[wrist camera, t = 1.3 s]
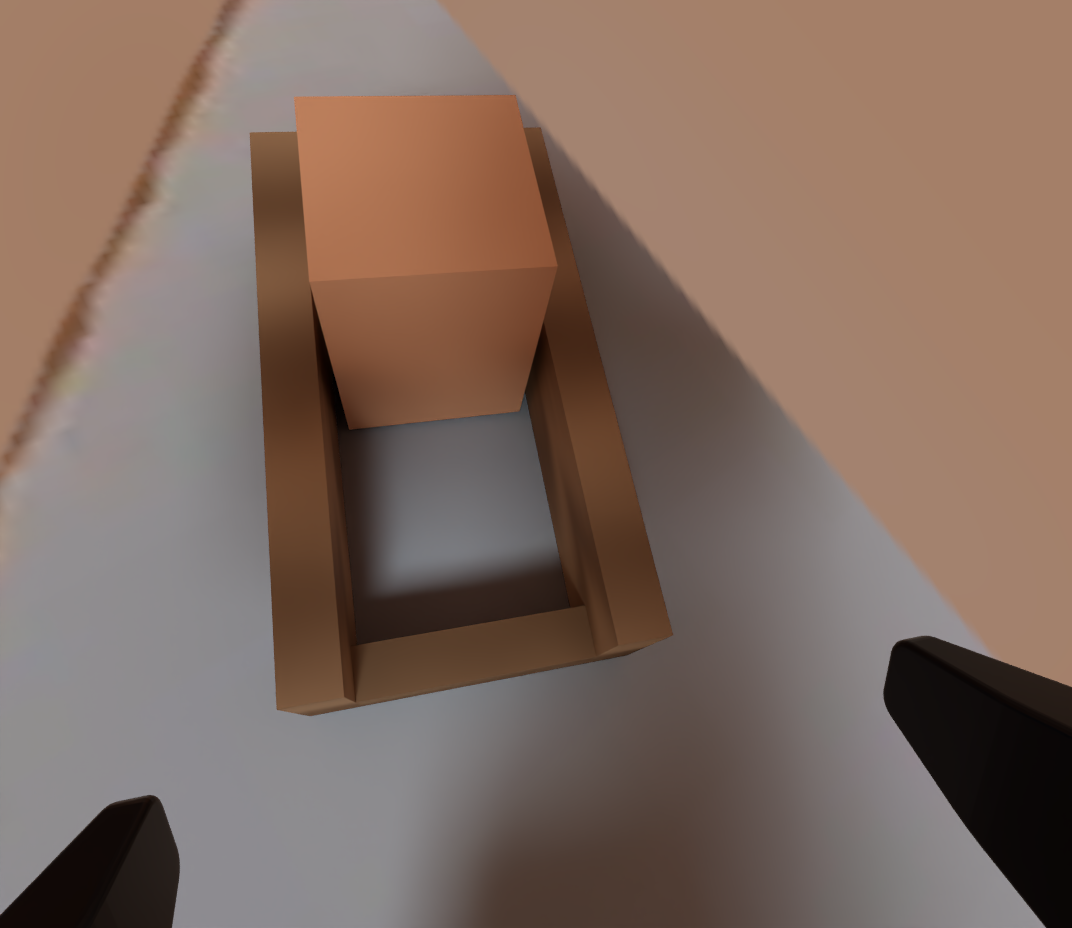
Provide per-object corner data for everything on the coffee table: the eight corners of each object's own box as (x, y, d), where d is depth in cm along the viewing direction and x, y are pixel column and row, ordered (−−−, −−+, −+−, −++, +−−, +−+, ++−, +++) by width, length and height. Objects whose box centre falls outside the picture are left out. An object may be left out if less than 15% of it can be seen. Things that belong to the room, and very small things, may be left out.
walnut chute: (626, 655, 21) (672, 635, 17) (310, 716, 19) (276, 709, 15) (524, 218, 28) (540, 127, 23) (279, 230, 26) (250, 132, 21)
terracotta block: (519, 411, 24) (557, 265, 16) (349, 429, 23) (309, 281, 15) (491, 276, 26) (515, 95, 19) (335, 286, 25) (293, 96, 17)
